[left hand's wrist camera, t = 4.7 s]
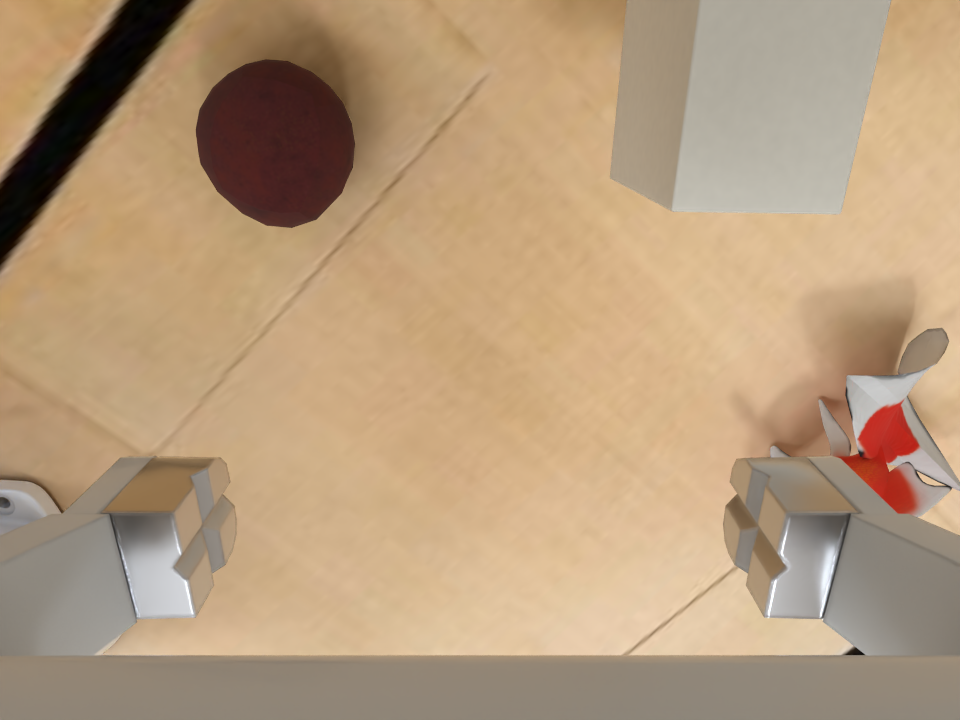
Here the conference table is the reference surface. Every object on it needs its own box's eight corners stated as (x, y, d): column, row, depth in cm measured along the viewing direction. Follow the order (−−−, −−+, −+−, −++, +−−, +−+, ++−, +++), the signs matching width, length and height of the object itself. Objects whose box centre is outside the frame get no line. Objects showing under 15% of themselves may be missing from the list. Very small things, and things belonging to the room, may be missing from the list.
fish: (684, 469, 37) (859, 560, 29) (828, 271, 39) (1025, 306, 31) (739, 544, 43) (895, 636, 35) (860, 370, 46) (1030, 420, 38)
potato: (376, 85, 33) (355, 81, 26) (349, 230, 36) (324, 258, 29) (233, 44, 32) (174, 30, 25) (217, 196, 35) (160, 217, 28)
